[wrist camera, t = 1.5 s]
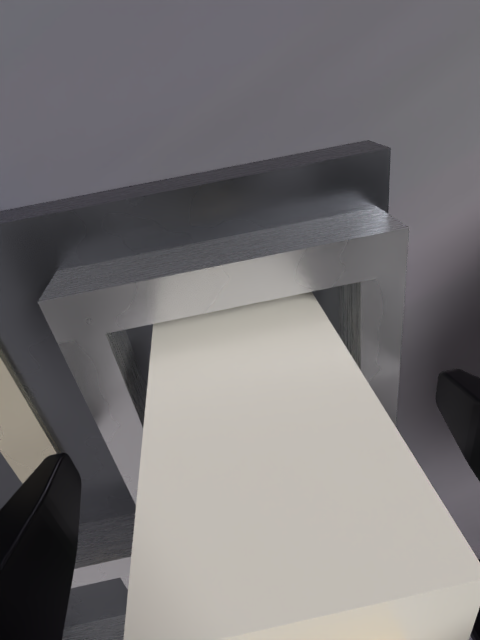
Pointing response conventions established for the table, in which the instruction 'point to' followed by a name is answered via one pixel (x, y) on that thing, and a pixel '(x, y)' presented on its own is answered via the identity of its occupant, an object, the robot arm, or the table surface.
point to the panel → (175, 317)
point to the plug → (284, 494)
